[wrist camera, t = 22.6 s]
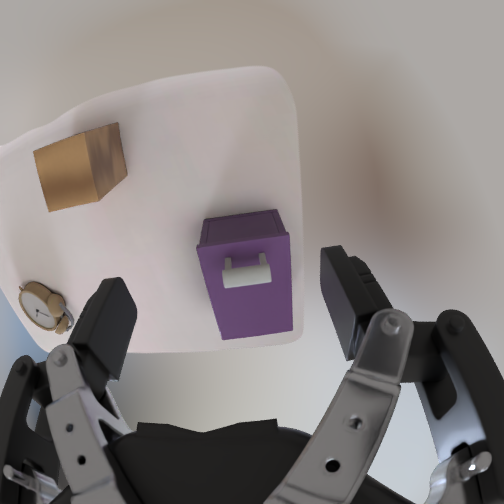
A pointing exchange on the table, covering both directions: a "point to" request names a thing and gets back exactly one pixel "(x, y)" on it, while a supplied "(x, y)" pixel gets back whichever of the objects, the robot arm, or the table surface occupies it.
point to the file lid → (249, 284)
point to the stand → (81, 167)
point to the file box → (241, 226)
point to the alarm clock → (45, 308)
